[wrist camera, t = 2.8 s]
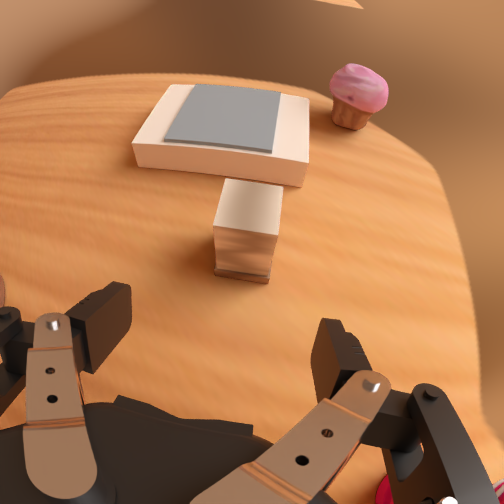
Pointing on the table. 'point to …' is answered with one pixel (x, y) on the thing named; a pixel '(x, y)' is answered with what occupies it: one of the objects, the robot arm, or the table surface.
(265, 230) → the memo note cube
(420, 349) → the table surface
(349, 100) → the cupcake
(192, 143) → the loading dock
